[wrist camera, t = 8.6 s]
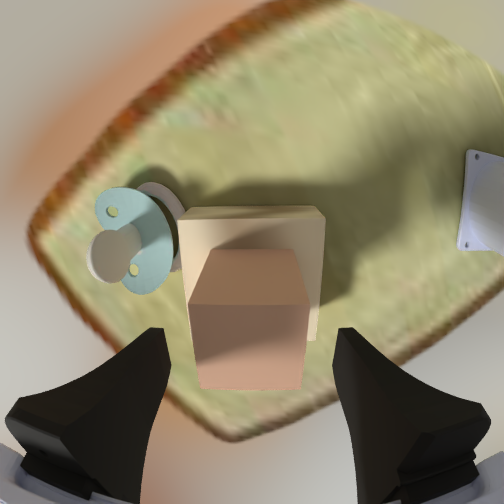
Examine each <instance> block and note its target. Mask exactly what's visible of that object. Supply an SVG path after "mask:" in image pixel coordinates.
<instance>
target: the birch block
mask: <svg viewBox="0 0 504 504" xmlns="http://www.w3.org/2000/svg"><path fill="white" fill-rule="evenodd" d="M177 222H178V233H179V244H180V254H181V263H182V272H183V281H184V289H185V297H186V304H187V312H188V319H189V326H190V318H189V311H188V302H189V299H190V297H191V295H192V292H193V290H194V288H195V285H196V283H197V280H198V278H199V276H200V273H201V271H202V269H203V266H204V264H205V262H206V259H207V257H208V255H209V253H210V250H211V249H293V250H294V253H295V257H296V260H297V263H298V266H299V269H300V272H301V276H302V279H303V282H304V285H305V288H306V292H307V295H308V298H309V301H310V313H309V324H308V333H307V341H315V339H316V331H317V322H318V313H319V303H320V292H321V281H322V269H323V256H324V240H325V223H326V218H325V217H324V216H323V215H322V214H321V213H320V212H319V210H318V209H317V208H316V207H315V206H298V205H271V206H211V207H191V208H190V209H189V210H187V211H186V212H185V213H184V214H183V215H182V216H181V217H180V218H179V219H178V220H177ZM190 332H191V326H190ZM191 339H192V333H191ZM192 341H193V340H192Z"/></svg>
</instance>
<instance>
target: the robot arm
mask: <svg viewBox="0 0 504 504" xmlns="http://www.w3.org/2000/svg"><path fill="white" fill-rule="evenodd" d="M475 155H476V156H477V158H476V159H475ZM466 242H467V244H466ZM465 244H466V246H465ZM456 246H457V248H458V249H459V250H461V251H479V250H494V251H495V252H497V253H499V254H500V255H502V256H504V157H500V156H497V155H493V154H489V153H485V152H481V151H477V150H473V149H469V150H467V152H466V166H465V181H464V192H463V202H462V210H461V218H460V225H459V231H458V237H457V243H456ZM332 367H333V374H334V379H335V385H336V388H337V392H338V395H339V398H340V401H341V405H342V408H343V411H344V414H345V417H346V421H347V424H348V427H349V431H350V435H351V442H352V448H353V455H354V463H355V471H356V482H357V497H358V504H504V452H503V451H500V452H499V453H497V454H495V455H493V456H491V457H489V458H487V459H485V460H483V461H482V462H480V463H479V464H478V465H476V466H475V463H474V461H473V460H474V459H475V458H476V454H475V452H474V448H475V447H476V446H477V445H478V444H479V442H480V441H481V440H482V438H483V437H484V436H485V435H486V433H487V431H488V430H489V428H490V425H491V419H490V417H489V416H488V414H487V413H486V411H485V409H484V408H483V406H482V405H481V403H477V402H473V401H469V400H465V399H462V398H458V397H456V396H453V395H450V394H447V393H445V392H442V391H440V390H438V389H435V388H433V387H431V386H429V385H427V384H425V383H423V382H422V381H420V380H418V379H416V378H415V377H413V376H411V375H409V374H408V373H407V372H405V371H404V370H402V369H401V368H399V367H398V366H397V365H395V364H394V363H393V362H392V361H390V360H389V359H388V358H386V357H385V356H384V355H383V354H382V353H380V352H379V351H378V350H377V349H376V348H375V347H374V346H373V345H371V344H370V343H369V342H368V341H367V340H366V339H365V338H364V337H363V336H362V335H361V334H359V333H358V332H357V331H356V330H355V329H354V328H353V327H351V328H339V329H338V335H337V341H336V347H335V353H334V358H333V364H332ZM170 369H171V361H170V356H169V352H168V347H167V343H166V338H165V333H164V328H151V327H150V328H149V329H147V330H146V331H145V332H143V333H142V334H141V335H140V336H139V337H137V338H136V339H135V340H134V341H133V342H131V343H130V344H129V345H128V346H126V347H125V348H124V349H123V350H121V351H120V352H119V353H117V354H116V355H115V356H113V357H112V358H111V359H109V360H108V361H106V362H105V363H104V364H102V365H101V366H99V367H97V368H96V369H94V370H93V371H91V372H89V373H87V374H86V375H84V376H82V377H80V378H78V379H76V380H73V381H71V382H69V383H67V384H65V385H62V386H60V387H57V388H55V389H52V390H49V391H45V392H42V393H38V394H34V395H30V396H26V397H21V398H19V399H18V400H17V402H16V403H15V404H14V406H13V407H12V409H11V410H10V411H9V413H8V414H7V416H6V417H5V423H6V426H7V428H8V429H9V431H10V432H11V434H12V435H13V436H14V437H15V439H16V440H17V441H18V442H19V444H20V445H21V446H22V447H23V448H24V449H25V451H26V452H27V453H26V455H25V457H23V456H22V455H21V454H19V453H18V452H16V451H14V450H12V449H11V448H9V447H7V446H5V445H4V444H1V443H0V503H1V504H140V493H141V483H142V475H143V467H144V461H145V456H146V450H147V445H148V440H149V436H150V431H151V428H152V425H153V422H154V419H155V417H156V414H157V411H158V408H159V405H160V403H161V400H162V398H163V395H164V392H165V389H166V387H167V383H168V379H169V374H170Z"/></svg>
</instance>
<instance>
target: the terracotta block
mask: <svg viewBox="0 0 504 504" xmlns="http://www.w3.org/2000/svg"><path fill="white" fill-rule="evenodd" d="M188 311H189V318H190V326H191V333H192V340H193V347H194V353H195V360H196V366H197V372H198V378H199V384H200V388H202V389H222V390H294V389H301V383H302V375H303V368H304V359H305V351H306V342H307V333H308V324H309V313H310V301H309V298H308V295H307V292H306V288H305V285H304V282H303V279H302V276H301V272H300V269H299V266H298V263H297V260H296V257H295V253H294V250H293V249H211V250H210V253H209V255H208V257H207V259H206V262H205V264H204V266H203V269H202V271H201V273H200V276H199V278H198V280H197V283H196V285H195V288H194V290H193V292H192V295H191V297H190V299H189V302H188Z"/></svg>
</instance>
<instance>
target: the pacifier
mask: <svg viewBox="0 0 504 504" xmlns="http://www.w3.org/2000/svg"><path fill="white" fill-rule="evenodd" d="M149 196H153V197H156V198H158V199H159V200H161V201H162V202H163V203H164V204H165V205H166V206H167V207H168V209H169V210H170V212H171V214H172V215H173V217H174V220H175V222H176V225H177V229H178V222H177V220H178V219H179V218H180V217H181V216H182V215H183V214H184V213H185V210H184V208H183V206H182V205H181V203H180V201H179V200H178V198H177V197H176V196H175V195H174V194H173V193H172V192H171V190H169V189H168V188H166V187H165V186H163V185H162V184H159V183H155V182H147V183H144V184H142V185H140V186H139V187H138V188H137V189H133V188H128V187H115V188H111V189H108V190H106V191H104V192H102V193H101V194H100V195H99V196H98V198H97V200H96V203H95V213H96V216H97V218H98V221H99V223H100V224H101V226H102V227H103V228H104V230H105V231H102V232H100V233H99V234H97V235H96V236H95V237H94V238H93V239H92V241H91V242H90V244H89V247H88V250H87V265H88V268H89V270H90V272H91V273H92V275H93V276H94V277H95V278H96V279H98V280H100V281H102V282H105V283H116V282H119V281H120V280H121V281H122V283H123V284H124V286H125V287H126V288H127V289H128V290H129V291H131V292H133V293H135V294H139V295H144V294H148V293H151V292H153V291H154V290H156V289H157V288H158V287H159V286H160V285H161V284H162V283H163V282H164V281H165V279H166V278H167V276H168V274H169V272H175V271H177V270H180V269H181V268H182V263H181V254H180V244H179V246H178V251H177V254H176V256H175V257H174V258H173V239H172V234H171V230H170V227H169V224H168V222H167V219H166V217H165V215H164V214H163V212H162V211H161V209H160V207H159V206H158V205H157V204H156V203H155V202H154V201H153V200H152V199H151V198H150V197H149ZM109 206H113V207H115V208H116V209H117V210H118V216H116V217H114V216H111V215H110V214H109V212H108V207H109ZM178 234H179V233H178ZM131 264H136V265H137V266H138V268H139V273H138V275H136V276H134V275H132V274H131V273H130V269H129V268H130V265H131Z"/></svg>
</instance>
